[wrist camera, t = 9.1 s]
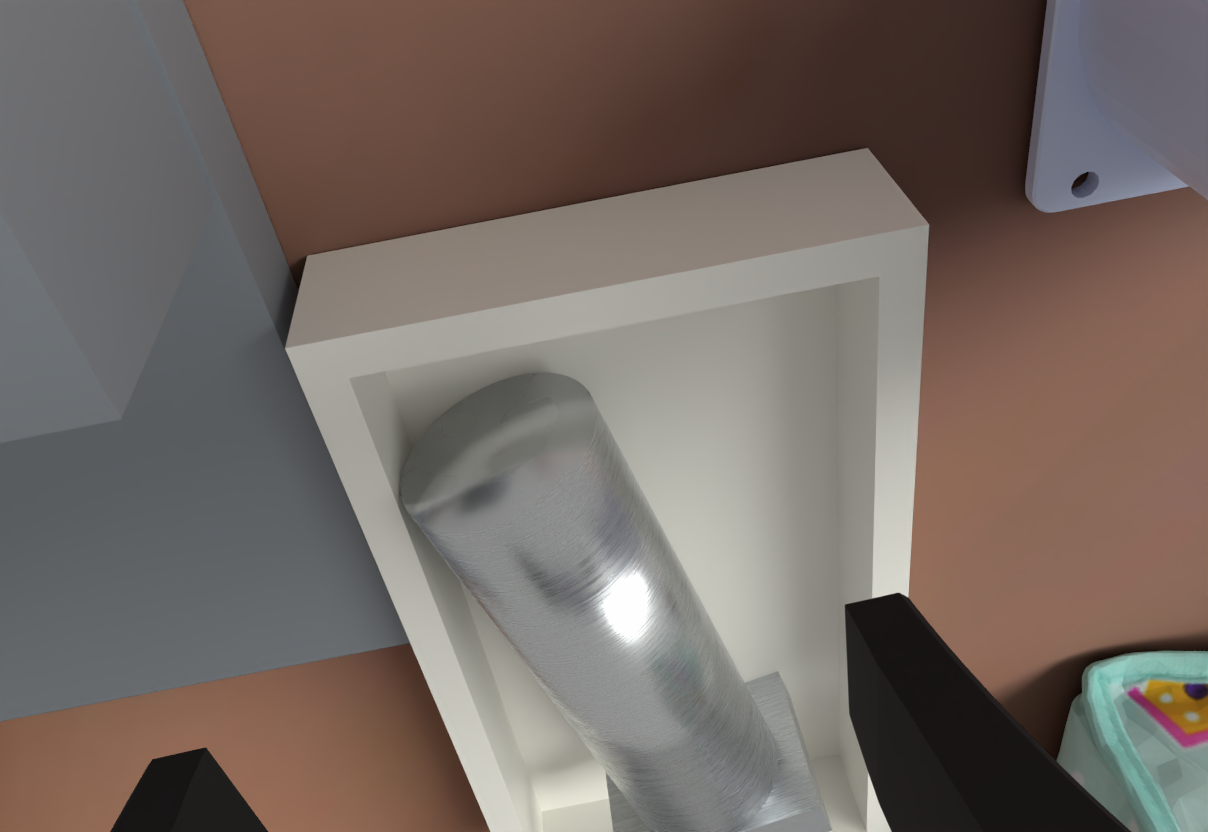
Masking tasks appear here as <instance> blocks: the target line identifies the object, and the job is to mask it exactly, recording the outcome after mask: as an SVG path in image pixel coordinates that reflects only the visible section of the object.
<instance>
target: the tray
mask: <svg viewBox="0 0 1208 832" xmlns="http://www.w3.org/2000/svg"><path fill="white" fill-rule="evenodd" d="M928 237H929V224H928V222H927V221H926V220H925V219H924V217H923V216H922V215H921V214H920V212H919V211H918V210H917V209H916V207H915V206H914V205H913V204H912V202H911V201H910V200H909V199H908V197H907V196H906V195H905V194H904V193H903V191H902V190H901V189H900V188H899V186H898V185H897V184H896V183H895V181H894V180H893V179H892V178H891V176H890V175H889V174H888V173H887V171H886V170H885V169H884V168H883V166H882V165H881V164H880V163H879V161H878V160H877V159H876V158H875V156H874V155H873V154H872V153H871V151H870V150H869V149H868V148H865V149H859V150H854V151H849V152H844V153H839V154H833V155H828V156H823V157H818V158H813V159H807V160H802V161H797V162H792V163H787V164H781V165H776V166H771V167H766V168H761V169H755V170H750V171H745V172H740V173H735V174H730V175H724V176H719V177H714V178H709V179H704V180H698V181H693V182H688V183H683V184H678V185H672V186H667V187H662V188H657V189H652V190H646V191H641V192H636V193H631V194H626V195H620V196H615V197H610V198H605V199H600V200H594V201H589V202H584V203H579V204H574V205H568V206H563V207H558V208H553V209H548V210H542V211H537V212H532V213H527V214H522V215H516V216H511V217H506V218H501V219H496V220H490V221H485V222H480V223H475V224H470V225H464V226H459V227H454V228H449V229H444V230H439V231H433V232H428V233H423V234H418V235H413V236H407V237H402V238H397V239H392V240H387V241H381V242H376V243H371V244H366V245H361V246H355V247H350V248H345V249H340V250H335V251H329V252H324V253H319V254H314V255H309V256H307V259H306V263H305V267H304V272H303V276H302V280H301V284H300V288H299V292H298V296H297V300H296V305H295V309H294V313H293V317H292V321H291V325H290V329H289V334H288V338H287V342H286V346H285V350H286V352H287V354H288V357H289V359H290V361H291V364H292V366H293V369H294V371H295V373H296V376H297V378H298V380H299V383H300V385H301V387H302V390H303V392H304V394H305V397H306V399H307V401H308V404H309V406H310V408H311V411H312V413H313V416H314V418H315V420H316V423H317V425H318V427H319V430H320V432H321V434H322V437H323V439H324V441H325V444H326V446H327V448H328V451H329V453H330V456H331V458H332V460H333V463H334V465H335V467H336V470H337V472H338V474H339V477H340V479H341V481H342V484H343V486H344V488H345V491H346V493H347V495H348V498H349V500H350V503H351V505H352V507H353V510H354V512H355V514H356V517H357V519H358V521H359V524H360V526H361V528H362V531H363V533H364V535H365V538H366V540H367V543H368V545H369V547H370V550H371V552H372V554H373V557H374V559H375V561H376V564H377V566H378V568H379V571H380V573H381V575H382V578H383V580H384V582H385V585H386V587H387V590H388V592H389V594H390V597H391V599H392V601H393V604H394V606H395V608H396V611H397V613H398V615H399V618H400V620H401V622H402V625H403V627H404V629H405V632H406V634H407V637H408V639H409V641H410V644H411V646H412V648H413V651H414V653H415V655H416V658H417V660H418V662H419V665H420V667H421V669H422V672H423V674H424V677H425V679H426V681H427V684H428V686H429V688H430V691H431V693H432V695H433V698H434V700H435V702H436V705H437V707H438V709H439V712H440V714H441V716H442V719H443V721H444V724H445V726H446V728H447V731H448V733H449V735H450V738H451V740H452V742H453V745H454V747H455V749H456V752H457V754H458V756H459V759H460V761H461V764H462V766H463V768H464V771H465V773H466V775H467V778H468V780H469V782H470V785H471V787H472V789H473V792H474V794H475V796H476V799H477V801H478V803H479V806H480V808H481V811H482V813H483V815H484V818H485V820H486V822H487V825H488V827H489V829H490V832H613V826H612V818H611V811H610V803H609V795H608V788H607V780H606V772H605V770H604V769H603V768H602V766H601V765H600V764H599V762H598V761H597V760H596V758H595V757H594V756H593V755H592V753H591V752H590V751H589V749H588V748H587V747H586V745H585V744H584V743H583V741H582V740H581V739H580V737H579V736H578V735H577V734H576V732H575V731H574V730H573V728H572V727H571V726H570V724H569V723H568V722H567V720H566V719H565V718H564V716H563V715H562V714H561V712H560V711H559V710H558V709H557V707H556V706H555V705H554V703H553V702H552V701H551V699H550V698H549V697H548V695H547V694H546V693H545V691H544V690H543V689H542V688H541V686H540V685H539V684H538V682H537V681H536V680H535V678H534V677H533V676H532V674H531V673H530V672H529V670H528V669H527V668H526V667H525V665H524V664H523V663H522V661H521V660H520V659H519V657H518V656H517V655H516V653H515V652H514V651H513V649H512V648H511V647H510V646H509V644H508V643H507V642H506V640H505V639H504V638H503V636H502V635H501V634H500V632H499V631H498V630H497V628H496V627H495V626H494V625H493V623H492V622H491V621H490V619H489V618H488V617H487V615H486V614H485V613H484V611H483V610H482V609H481V607H480V606H479V605H478V603H477V602H476V601H475V600H474V598H473V597H472V596H471V594H470V593H469V592H468V590H467V589H466V588H465V586H464V585H463V584H462V582H461V581H460V580H459V579H458V577H457V576H456V575H455V573H454V572H453V571H452V569H451V568H450V567H449V565H448V564H447V563H446V561H445V560H444V559H443V558H442V556H441V555H440V554H439V552H438V551H437V550H436V548H435V547H434V546H433V544H432V543H431V542H430V540H429V539H428V538H427V537H426V535H425V534H424V533H423V531H422V530H421V529H420V527H419V526H418V525H417V523H416V522H415V521H414V519H413V518H412V517H411V516H410V514H409V513H408V512H407V510H406V509H405V507H404V504H403V502H402V498H401V494H400V482H401V476H402V472H403V469H404V465H405V463H406V461H407V459H408V457H409V455H410V453H411V451H412V449H413V448H414V446H415V445H416V443H417V442H418V440H419V439H420V438H421V436H422V435H423V434H424V433H425V432H426V430H427V429H428V428H429V427H430V426H431V425H432V424H433V423H434V422H435V421H436V420H437V419H438V418H439V417H440V416H441V415H443V414H444V413H445V412H446V411H447V410H448V409H450V408H451V407H453V406H454V405H455V404H457V403H458V402H459V401H461V400H463V399H464V398H466V397H467V396H469V395H471V394H472V393H474V392H476V391H478V390H480V389H482V388H484V387H486V386H488V385H491V384H493V383H495V382H498V381H501V380H504V379H507V378H510V377H514V376H518V375H523V374H529V373H556V374H561V375H565V376H568V377H571V378H573V379H575V380H577V381H578V382H580V383H581V384H582V385H584V386H585V388H586V389H587V390H588V391H589V392H590V394H591V396H592V398H593V400H594V402H595V403H596V405H597V407H598V409H599V411H600V413H601V415H602V417H603V418H604V420H605V422H606V424H607V426H608V428H609V430H610V431H611V433H612V435H613V437H614V439H615V441H616V443H617V445H618V446H619V448H620V450H621V452H622V454H623V456H624V458H625V460H626V461H627V463H628V465H629V467H630V469H631V471H632V473H633V474H634V476H635V478H636V480H637V482H638V484H639V486H640V488H641V489H642V491H643V493H644V495H645V497H646V499H647V501H648V503H649V504H650V506H651V508H652V510H653V512H654V514H655V516H656V517H657V519H658V521H659V523H660V525H661V527H662V529H663V531H664V532H665V534H666V536H667V538H668V540H669V542H670V544H671V545H672V547H673V549H674V551H675V553H676V555H677V557H678V559H679V560H680V562H681V564H682V566H683V568H684V570H685V572H686V574H687V575H688V577H689V579H690V581H691V583H692V585H693V587H694V588H695V590H696V592H697V594H698V596H699V598H700V600H701V602H702V603H703V605H704V607H705V609H706V611H707V613H708V615H709V616H710V618H711V620H712V622H713V624H714V626H715V628H716V630H717V631H718V633H719V635H720V637H721V639H722V641H723V643H724V645H725V646H726V648H727V650H728V652H729V654H730V656H731V658H732V659H733V661H734V663H735V665H736V667H737V669H738V671H739V673H740V674H741V676H742V678H743V680H744V682H745V683H746V682H748V681H751V680H754V679H757V678H760V677H763V676H766V675H769V674H772V673H774V672H777V671H778V672H779V674H780V676H781V678H782V680H783V682H784V684H785V686H786V688H787V690H788V692H789V694H790V697H791V700H792V703H793V706H794V710H795V713H796V716H797V719H798V722H799V726H800V729H801V732H802V735H803V738H804V741H805V745H806V748H807V751H808V754H809V757H810V761H811V764H812V767H813V770H814V773H815V776H816V780H817V783H818V786H819V789H820V792H821V796H822V799H823V802H824V805H825V808H826V811H827V815H828V818H829V821H830V824H831V827H832V831H829V832H891V829H890V827H889V825H888V823H887V820H886V818H885V816H884V814H883V811H882V809H881V807H880V805H879V802H878V799H877V796H876V794H875V791H874V788H873V785H872V782H871V779H870V776H869V773H868V770H867V767H866V764H865V761H864V758H863V755H862V752H861V749H860V746H859V743H858V740H857V737H856V734H855V731H854V728H853V725H852V721H851V718H850V715H849V698H848V674H847V650H846V626H845V604H850V603H854V602H858V601H863V600H867V599H872V598H876V597H881V596H885V595H890V594H894V593H901V594H903V595H905V596H906V597H908V591H909V573H910V556H911V538H912V520H913V502H914V485H915V467H916V449H917V432H918V414H919V396H920V379H921V361H922V343H923V326H924V308H925V290H926V273H927V255H928Z"/></svg>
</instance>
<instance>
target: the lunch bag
mask: <svg viewBox="0 0 1208 832" xmlns="http://www.w3.org/2000/svg"><path fill="white" fill-rule="evenodd" d="M1056 761H1057V762H1058V763H1059V764H1060V765H1061V766H1062V767H1063V768H1064V769H1065V770H1066V771H1067V772H1068V773H1069V774H1070V775H1071V776H1072V777H1073V778H1074V779H1075V780H1076V781H1077V782H1078V783H1079V784H1080V785H1081V786H1082V787H1083V788H1085V789H1086V790H1087V791H1088V792H1089V793H1090V794H1091V795H1092V796H1093V797H1094V798H1095V799H1096V800H1097V801H1098V802H1100V803H1101V804H1102V805H1103V806H1104V807H1105V808H1106V809H1107V810H1108V811H1109V812H1110V813H1112V814H1113V815H1114V816H1115V817H1116V818H1117V819H1118V820H1119V821H1120V822H1121V823H1122V824H1124V825H1125V826H1126V827H1127V828H1128V829H1129V830H1130V831H1131V832H1208V651H1152V652H1135V653H1127V654H1123V655H1119V656H1115V657H1112V658H1108V659H1104V660H1100V661H1097V662H1094V663H1092V664H1090V665H1089V666H1087V667H1086V668H1085V670H1084V673H1083V675H1082V693H1081V694H1079V695H1078V696H1077V697H1075V699H1074V700H1073V702H1072V705H1071V708H1070V712H1069V715H1068V719H1067V722H1066V726H1065V730H1064V735H1063V739H1062V743H1061V747H1060V752H1059V754H1058V757H1057V760H1056Z"/></svg>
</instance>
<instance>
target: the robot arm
mask: <svg viewBox="0 0 1208 832" xmlns="http://www.w3.org/2000/svg"><path fill="white" fill-rule="evenodd" d="M1086 172H1089V174H1088V177H1087V179H1086V181H1085V182H1084V183H1083V184H1082V185H1081V186H1079V187H1076V188H1074V189H1071V187H1072V184H1073V182H1074V180H1075V179H1076V178H1077V177H1078V176H1079V175H1081V174H1083V173H1086ZM1185 187H1191V188H1192V189H1193V190H1195V191H1196V192H1197V193H1199V194H1200V195H1201V196H1203V197H1204V198H1205V199H1207V200H1208V0H1047V7H1046V15H1045V24H1044V32H1043V40H1042V49H1041V57H1040V65H1039V74H1038V82H1037V90H1036V99H1035V107H1034V115H1033V124H1032V132H1031V141H1030V149H1029V157H1028V166H1027V174H1026V182H1025V193H1026V197H1027V198H1028V200H1029V201H1030V202H1031V203H1032V204H1033V205H1034V206H1035V207H1036V208H1037V209H1038V210H1040V211H1043V212H1045V213H1054V212H1060V211H1065V210H1070V209H1075V208H1081V207H1086V206H1091V205H1096V204H1101V203H1107V202H1112V201H1117V200H1122V199H1127V198H1133V197H1138V196H1143V195H1148V194H1153V193H1159V192H1164V191H1169V190H1174V189H1179V188H1185ZM845 626H846V650H847V674H848V698H849V715H850V718H851V721H852V725H853V728H854V731H855V734H856V737H857V740H858V743H859V746H860V749H861V752H862V755H863V758H864V761H865V764H866V767H867V770H868V773H869V776H870V779H871V782H872V785H873V788H874V791H875V794H876V796H877V799H878V802H879V805H880V807H881V809H882V811H883V814H884V816H885V818H886V820H887V823H888V825H889V827H890V829H891V832H1131V831H1130V830H1129V829H1128V828H1127V827H1126V826H1125V825H1124V824H1122V823H1121V822H1120V821H1119V820H1118V819H1117V818H1116V817H1115V816H1114V815H1113V814H1112V813H1110V812H1109V811H1108V810H1107V809H1106V808H1105V807H1104V806H1103V805H1102V804H1101V803H1100V802H1098V801H1097V800H1096V799H1095V798H1094V797H1093V796H1092V795H1091V794H1090V793H1089V792H1088V791H1087V790H1086V789H1085V788H1083V787H1082V786H1081V785H1080V784H1079V783H1078V782H1077V781H1076V780H1075V779H1074V778H1073V777H1072V776H1071V775H1070V774H1069V773H1068V772H1067V771H1066V770H1065V769H1064V768H1063V767H1062V766H1061V765H1060V764H1059V763H1058V762H1057V761H1056V760H1055V759H1054V758H1053V757H1052V756H1051V755H1050V754H1049V753H1048V752H1047V751H1046V750H1045V749H1044V748H1043V747H1042V746H1041V745H1040V744H1039V743H1038V742H1037V741H1036V740H1035V739H1034V738H1033V737H1032V736H1031V735H1030V734H1029V733H1028V732H1027V731H1026V730H1025V729H1024V728H1023V727H1022V726H1021V725H1020V724H1019V723H1018V722H1017V721H1016V720H1015V719H1014V718H1013V717H1012V716H1011V715H1010V714H1009V713H1008V712H1007V711H1006V710H1005V709H1004V707H1003V706H1002V705H1001V704H1000V703H999V702H998V701H997V700H996V699H995V698H994V697H993V696H992V695H991V694H990V693H989V691H988V690H987V689H986V688H985V687H984V686H983V685H982V684H981V683H980V682H979V680H978V679H977V678H976V677H975V676H974V675H973V674H972V673H971V672H970V671H969V669H968V668H967V667H966V666H965V665H964V664H963V663H962V662H961V660H960V659H959V658H958V657H957V656H956V655H955V654H954V652H953V651H952V650H951V649H950V648H949V647H948V646H947V644H946V643H945V642H944V641H943V640H942V638H941V637H940V636H939V635H938V634H937V633H936V631H935V630H934V629H933V628H932V626H931V625H930V624H929V623H928V622H927V620H926V619H925V618H924V617H923V616H922V614H921V613H920V612H919V610H918V609H917V608H916V607H915V605H914V604H913V603H912V602H911V600H910V599H909V598H908V597H906V596H905V595H903V594H901V593H894V594H890V595H885V596H881V597H876V598H872V599H867V600H863V601H858V602H854V603H850V604H845ZM110 832H268V831H267V830H266V828H265V827H264V825H263V824H262V823H261V821H260V820H259V819H258V817H257V816H256V815H255V813H254V812H253V811H252V809H251V808H250V806H249V805H248V804H247V802H246V801H245V800H244V798H243V797H242V796H241V794H240V793H239V792H238V790H237V789H236V787H235V786H234V785H233V783H232V782H231V781H230V779H229V778H228V777H227V775H226V774H225V773H224V771H223V770H222V768H221V767H220V766H219V764H218V763H217V762H216V760H215V759H214V758H213V756H212V755H211V754H210V752H209V751H208V749H207V748H201V749H197V750H192V751H188V752H184V753H179V754H175V755H170V756H166V757H161V758H157V759H152V761H151V762H150V764H149V765H148V767H147V769H146V770H145V772H144V774H143V775H142V777H141V779H140V781H139V782H138V784H137V786H136V787H135V789H134V791H133V793H132V794H131V796H130V798H129V800H128V801H127V803H126V805H125V807H124V808H123V810H122V812H121V814H120V815H119V817H118V819H117V821H116V822H115V824H114V826H113V828H112V829H111V831H110Z"/></svg>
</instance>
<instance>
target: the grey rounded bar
mask: <svg viewBox="0 0 1208 832" xmlns="http://www.w3.org/2000/svg"><path fill="white" fill-rule="evenodd" d="M400 494H401V498H402V502H403V504H404V507H405V509H406V510H407V512H408V513H409V514H410V516H411V517H412V518H413V519H414V521H415V522H416V523H417V525H418V526H419V527H420V529H421V530H422V531H423V533H424V534H425V535H426V537H427V538H428V539H429V540H430V542H431V543H432V544H433V546H434V547H435V548H436V550H437V551H438V552H439V554H440V555H441V556H442V558H443V559H444V560H445V561H446V563H447V564H448V565H449V567H450V568H451V569H452V571H453V572H454V573H455V575H456V576H457V577H458V579H459V580H460V581H461V582H462V584H463V585H464V586H465V588H466V589H467V590H468V592H469V593H470V594H471V596H472V597H473V598H474V600H475V601H476V602H477V603H478V605H479V606H480V607H481V609H482V610H483V611H484V613H485V614H486V615H487V617H488V618H489V619H490V621H491V622H492V623H493V625H494V626H495V627H496V628H497V630H498V631H499V632H500V634H501V635H502V636H503V638H504V639H505V640H506V642H507V643H508V644H509V646H510V647H511V648H512V649H513V651H514V652H515V653H516V655H517V656H518V657H519V659H520V660H521V661H522V663H523V664H524V665H525V667H526V668H527V669H528V670H529V672H530V673H531V674H532V676H533V677H534V678H535V680H536V681H537V682H538V684H539V685H540V686H541V688H542V689H543V690H544V691H545V693H546V694H547V695H548V697H549V698H550V699H551V701H552V702H553V703H554V705H555V706H556V707H557V709H558V710H559V711H560V712H561V714H562V715H563V716H564V718H565V719H566V720H567V722H568V723H569V724H570V726H571V727H572V728H573V730H574V731H575V732H576V734H577V735H578V736H579V737H580V739H581V740H582V741H583V743H584V744H585V745H586V747H587V748H588V749H589V751H590V752H591V753H592V755H593V756H594V757H595V758H596V760H597V761H598V762H599V764H600V765H601V766H602V768H603V769H604V770H605V772H606V780H607V788H608V795H609V803H610V811H611V818H612V826H613V832H829V831H832V827H831V824H830V821H829V818H828V815H827V811H826V808H825V805H824V802H823V799H822V796H821V792H820V789H819V786H818V783H817V780H816V776H815V773H814V770H813V767H812V764H811V761H810V757H809V754H808V751H807V748H806V745H805V741H804V738H803V735H802V732H801V729H800V726H799V722H798V719H797V716H796V713H795V710H794V706H793V703H792V700H791V697H790V694H789V692H788V690H787V688H786V686H785V684H784V682H783V680H782V678H781V676H780V674H779V672H778V671H777V672H774V673H772V674H769V675H766V676H763V677H760V678H757V679H754V680H751V681H748V682H746V683H745V682H744V680H743V678H742V676H741V674H740V673H739V671H738V669H737V667H736V665H735V663H734V661H733V659H732V658H731V656H730V654H729V652H728V650H727V648H726V646H725V645H724V643H723V641H722V639H721V637H720V635H719V633H718V631H717V630H716V628H715V626H714V624H713V622H712V620H711V618H710V616H709V615H708V613H707V611H706V609H705V607H704V605H703V603H702V602H701V600H700V598H699V596H698V594H697V592H696V590H695V588H694V587H693V585H692V583H691V581H690V579H689V577H688V575H687V574H686V572H685V570H684V568H683V566H682V564H681V562H680V560H679V559H678V557H677V555H676V553H675V551H674V549H673V547H672V545H671V544H670V542H669V540H668V538H667V536H666V534H665V532H664V531H663V529H662V527H661V525H660V523H659V521H658V519H657V517H656V516H655V514H654V512H653V510H652V508H651V506H650V504H649V503H648V501H647V499H646V497H645V495H644V493H643V491H642V489H641V488H640V486H639V484H638V482H637V480H636V478H635V476H634V474H633V473H632V471H631V469H630V467H629V465H628V463H627V461H626V460H625V458H624V456H623V454H622V452H621V450H620V448H619V446H618V445H617V443H616V441H615V439H614V437H613V435H612V433H611V431H610V430H609V428H608V426H607V424H606V422H605V420H604V418H603V417H602V415H601V413H600V411H599V409H598V407H597V405H596V403H595V402H594V400H593V398H592V396H591V394H590V392H589V391H588V390H587V389H586V388H585V386H584V385H582V384H581V383H580V382H578V381H577V380H575V379H573V378H571V377H568V376H565V375H561V374H556V373H529V374H523V375H518V376H514V377H510V378H507V379H504V380H501V381H498V382H495V383H493V384H491V385H488V386H486V387H484V388H482V389H480V390H478V391H476V392H474V393H472V394H471V395H469V396H467V397H466V398H464V399H463V400H461V401H459V402H458V403H457V404H455V405H454V406H453V407H451V408H450V409H448V410H447V411H446V412H445V413H444V414H443V415H441V416H440V417H439V418H438V419H437V420H436V421H435V422H434V423H433V424H432V425H431V426H430V427H429V428H428V429H427V430H426V432H425V433H424V434H423V435H422V436H421V438H420V439H419V440H418V442H417V443H416V445H415V446H414V448H413V449H412V451H411V453H410V455H409V457H408V459H407V461H406V463H405V465H404V469H403V472H402V476H401V482H400Z"/></svg>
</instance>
